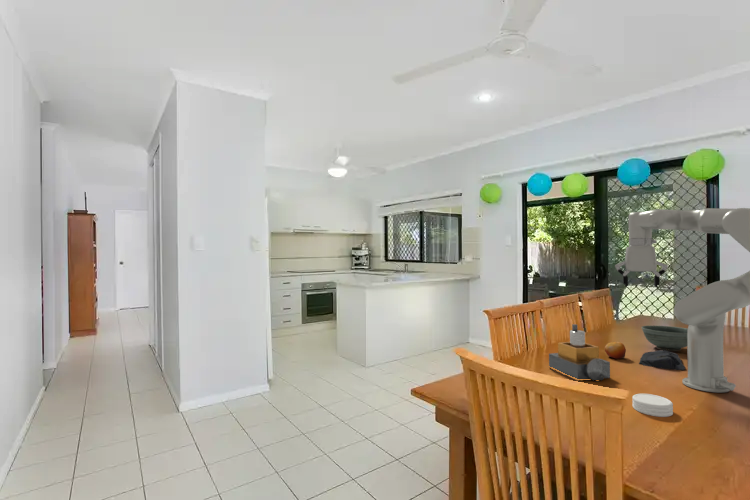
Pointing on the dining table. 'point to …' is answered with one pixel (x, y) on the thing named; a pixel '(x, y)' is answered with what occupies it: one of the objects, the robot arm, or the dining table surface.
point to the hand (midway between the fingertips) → (640, 286)
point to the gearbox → (580, 362)
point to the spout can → (577, 337)
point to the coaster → (652, 405)
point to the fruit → (615, 350)
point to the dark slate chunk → (662, 360)
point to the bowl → (666, 337)
